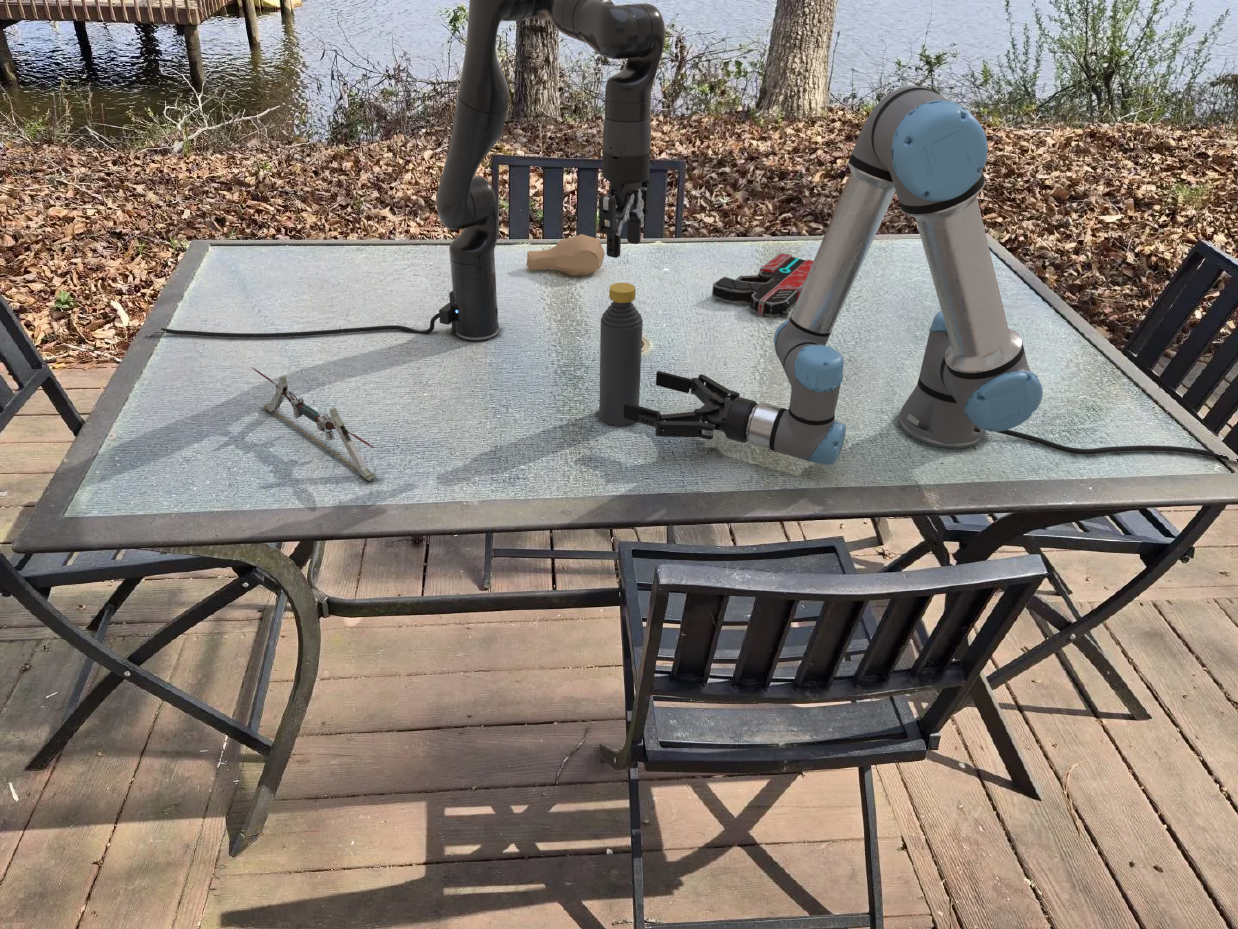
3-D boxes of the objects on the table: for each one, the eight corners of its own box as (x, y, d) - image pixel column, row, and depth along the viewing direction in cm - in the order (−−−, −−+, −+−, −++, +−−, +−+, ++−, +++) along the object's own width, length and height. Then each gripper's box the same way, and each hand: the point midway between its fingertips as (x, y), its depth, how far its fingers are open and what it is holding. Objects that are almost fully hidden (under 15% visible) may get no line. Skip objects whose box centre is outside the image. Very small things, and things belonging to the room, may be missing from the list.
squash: (606, 279, 220) (601, 247, 214) (527, 286, 222) (521, 255, 215) (606, 257, 228) (602, 226, 222) (531, 264, 229) (524, 233, 223)
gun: (708, 284, 207) (784, 305, 199) (760, 245, 229) (831, 262, 221) (706, 302, 209) (781, 323, 201) (758, 261, 231) (828, 278, 223)
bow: (385, 483, 144) (378, 432, 138) (376, 488, 143) (368, 436, 137) (265, 401, 165) (254, 353, 160) (256, 404, 164) (245, 356, 158)
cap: (604, 295, 152) (605, 284, 151) (627, 291, 154) (628, 280, 153) (616, 304, 149) (616, 294, 148) (639, 300, 150) (640, 290, 149)
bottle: (592, 411, 166) (593, 285, 152) (627, 403, 168) (631, 278, 154) (610, 429, 160) (612, 301, 146) (645, 421, 163) (651, 294, 149)
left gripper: (625, 134, 144) (622, 233, 153) (583, 154, 133) (583, 258, 142) (667, 141, 141) (661, 240, 150) (627, 161, 130) (624, 267, 140)
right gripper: (724, 477, 143) (609, 443, 151) (772, 409, 162) (668, 383, 170) (729, 438, 139) (610, 405, 147) (777, 373, 158) (670, 348, 166)
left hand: (623, 249), depth 146 cm, fingers open, 7 cm apart
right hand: (641, 393), depth 158 cm, fingers open, 13 cm apart
